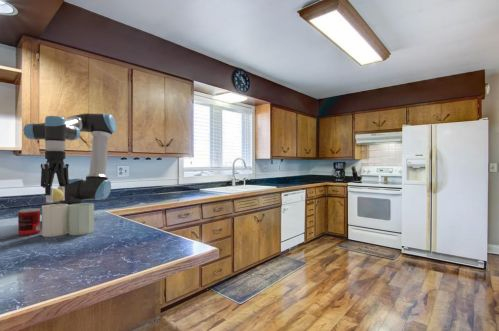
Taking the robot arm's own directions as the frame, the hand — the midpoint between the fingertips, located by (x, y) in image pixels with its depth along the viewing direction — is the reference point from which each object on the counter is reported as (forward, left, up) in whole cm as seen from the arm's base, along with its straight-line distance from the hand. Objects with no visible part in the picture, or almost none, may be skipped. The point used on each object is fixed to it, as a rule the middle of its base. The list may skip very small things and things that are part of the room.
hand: (55, 201), depth 120 cm
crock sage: (-3, +10, -15) cm, 18 cm away
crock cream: (0, 0, -15) cm, 15 cm away
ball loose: (0, 0, +3) cm, 3 cm away
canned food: (0, -12, -15) cm, 20 cm away
